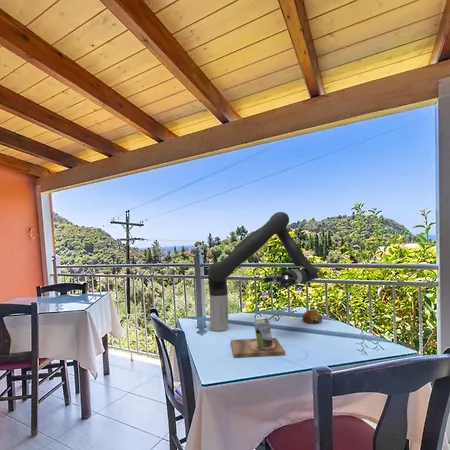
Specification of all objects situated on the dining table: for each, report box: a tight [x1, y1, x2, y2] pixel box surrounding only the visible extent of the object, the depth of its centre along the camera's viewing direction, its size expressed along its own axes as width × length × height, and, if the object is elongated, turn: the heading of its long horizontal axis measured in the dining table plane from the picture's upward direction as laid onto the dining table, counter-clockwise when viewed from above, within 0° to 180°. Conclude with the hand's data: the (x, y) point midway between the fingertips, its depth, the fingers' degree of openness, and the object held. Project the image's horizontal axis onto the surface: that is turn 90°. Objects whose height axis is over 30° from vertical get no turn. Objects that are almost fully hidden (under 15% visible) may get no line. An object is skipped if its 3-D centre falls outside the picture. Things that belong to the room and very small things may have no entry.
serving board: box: [230, 337, 286, 359], centre depth 126 cm, size 20×16×2 cm
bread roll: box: [302, 309, 323, 325], centre depth 163 cm, size 10×10×8 cm
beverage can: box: [253, 316, 273, 349], centre depth 123 cm, size 6×7×12 cm
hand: (272, 281), depth 136 cm, fingers open, 8 cm apart
